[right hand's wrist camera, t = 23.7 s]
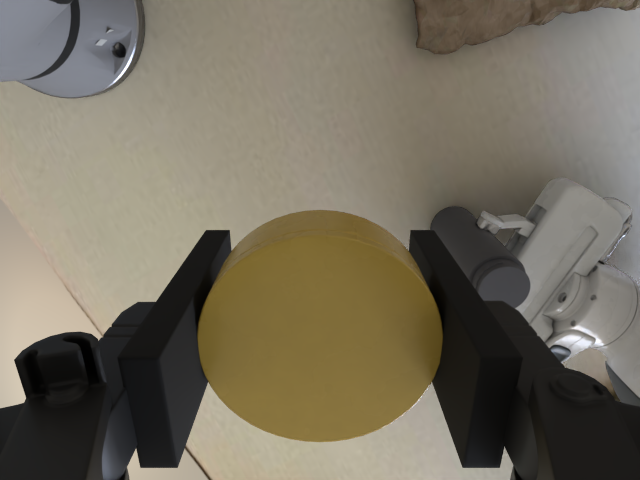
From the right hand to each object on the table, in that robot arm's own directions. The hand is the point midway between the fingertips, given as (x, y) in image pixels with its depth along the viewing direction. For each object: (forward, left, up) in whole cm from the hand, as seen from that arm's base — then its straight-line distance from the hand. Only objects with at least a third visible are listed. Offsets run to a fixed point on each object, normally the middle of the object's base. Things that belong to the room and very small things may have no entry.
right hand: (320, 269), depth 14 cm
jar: (+14, +12, -33) cm, 38 cm away
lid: (0, 0, +4) cm, 4 cm away
